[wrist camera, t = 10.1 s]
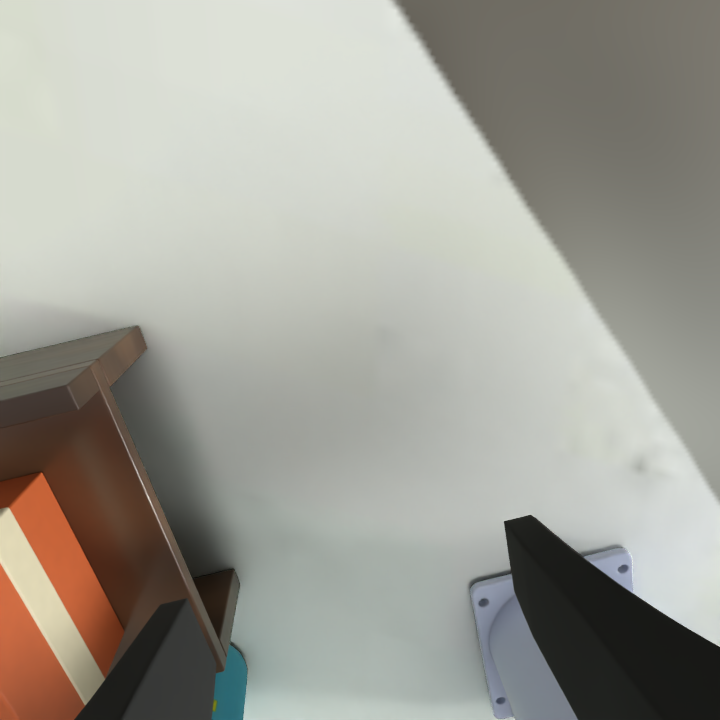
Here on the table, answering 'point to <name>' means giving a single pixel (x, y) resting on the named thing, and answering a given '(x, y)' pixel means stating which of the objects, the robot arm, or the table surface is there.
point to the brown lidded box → (104, 481)
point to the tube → (230, 688)
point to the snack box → (48, 609)
